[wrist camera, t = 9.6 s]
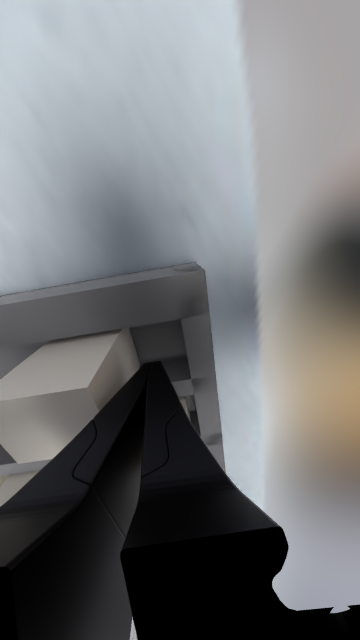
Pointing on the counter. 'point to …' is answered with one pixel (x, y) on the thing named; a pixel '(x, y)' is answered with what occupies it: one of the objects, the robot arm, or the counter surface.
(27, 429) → the cream rectangular block
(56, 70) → the counter surface
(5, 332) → the switch bank
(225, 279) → the counter surface
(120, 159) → the counter surface
